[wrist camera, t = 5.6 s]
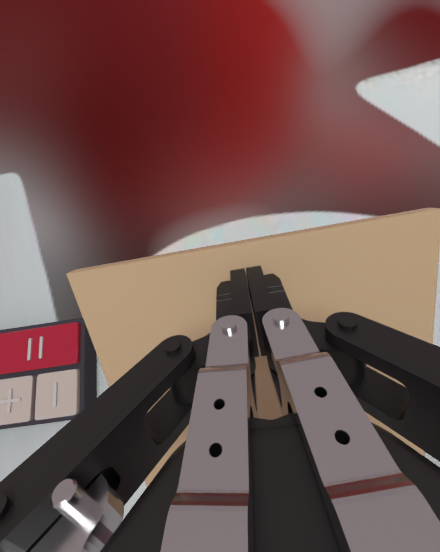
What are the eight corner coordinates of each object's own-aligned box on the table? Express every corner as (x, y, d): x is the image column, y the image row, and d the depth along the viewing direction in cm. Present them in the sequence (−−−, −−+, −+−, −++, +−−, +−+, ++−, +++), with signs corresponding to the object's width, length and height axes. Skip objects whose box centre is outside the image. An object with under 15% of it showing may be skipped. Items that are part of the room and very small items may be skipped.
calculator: (79, 420, 27) (-56, 438, 27) (101, 410, 31) (-17, 426, 31) (81, 316, 30) (-41, 334, 30) (100, 320, 34) (-7, 336, 34)
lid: (414, 453, 17) (423, 465, 16) (151, 477, 18) (148, 489, 18) (428, 207, 12) (442, 208, 11) (75, 269, 14) (66, 273, 13)
